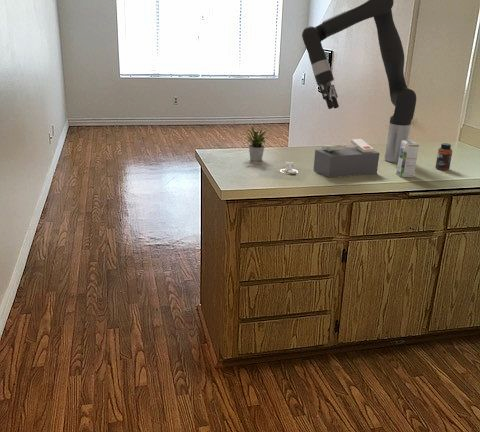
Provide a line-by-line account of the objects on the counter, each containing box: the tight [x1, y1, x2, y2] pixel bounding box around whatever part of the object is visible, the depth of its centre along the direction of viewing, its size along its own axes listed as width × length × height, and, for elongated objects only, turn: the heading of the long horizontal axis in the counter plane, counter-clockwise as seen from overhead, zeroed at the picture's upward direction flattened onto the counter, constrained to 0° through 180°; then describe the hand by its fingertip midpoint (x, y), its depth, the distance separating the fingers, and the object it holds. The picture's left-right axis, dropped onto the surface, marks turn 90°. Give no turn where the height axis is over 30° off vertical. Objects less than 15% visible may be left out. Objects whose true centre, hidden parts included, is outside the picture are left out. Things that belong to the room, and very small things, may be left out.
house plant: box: [242, 123, 272, 162], centre depth 235 cm, size 14×14×16 cm
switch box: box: [313, 146, 380, 179], centre depth 223 cm, size 24×12×9 cm, turn 113°
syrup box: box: [396, 139, 420, 178], centre depth 220 cm, size 6×6×14 cm
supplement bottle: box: [435, 142, 453, 171], centre depth 233 cm, size 6×6×11 cm
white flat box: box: [350, 138, 375, 153], centre depth 223 cm, size 5×10×2 cm, turn 23°
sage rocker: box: [321, 144, 346, 151], centre depth 218 cm, size 5×10×2 cm, turn 23°
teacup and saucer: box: [279, 161, 299, 175], centre depth 221 cm, size 9×8×4 cm
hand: (333, 108), depth 230 cm, fingers open, 8 cm apart
